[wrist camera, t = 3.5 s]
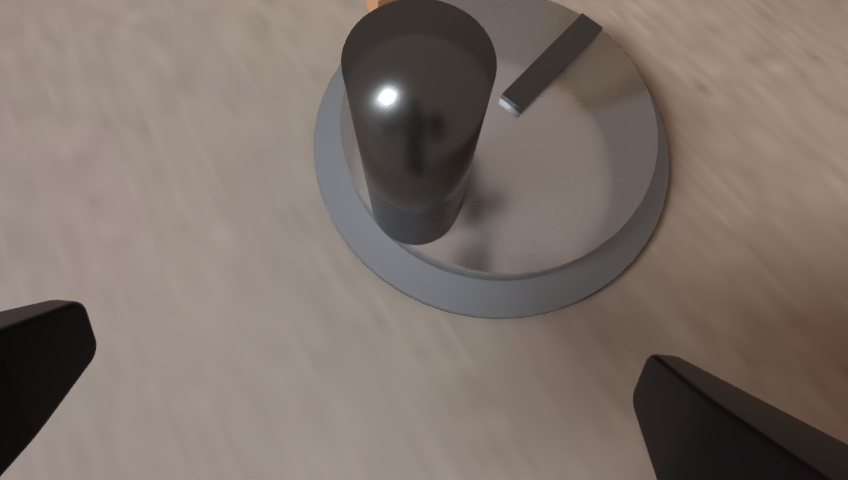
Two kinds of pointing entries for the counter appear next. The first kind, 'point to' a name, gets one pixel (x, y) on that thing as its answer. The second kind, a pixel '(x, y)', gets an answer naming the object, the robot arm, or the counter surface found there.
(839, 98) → the counter surface
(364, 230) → the dial base
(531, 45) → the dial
